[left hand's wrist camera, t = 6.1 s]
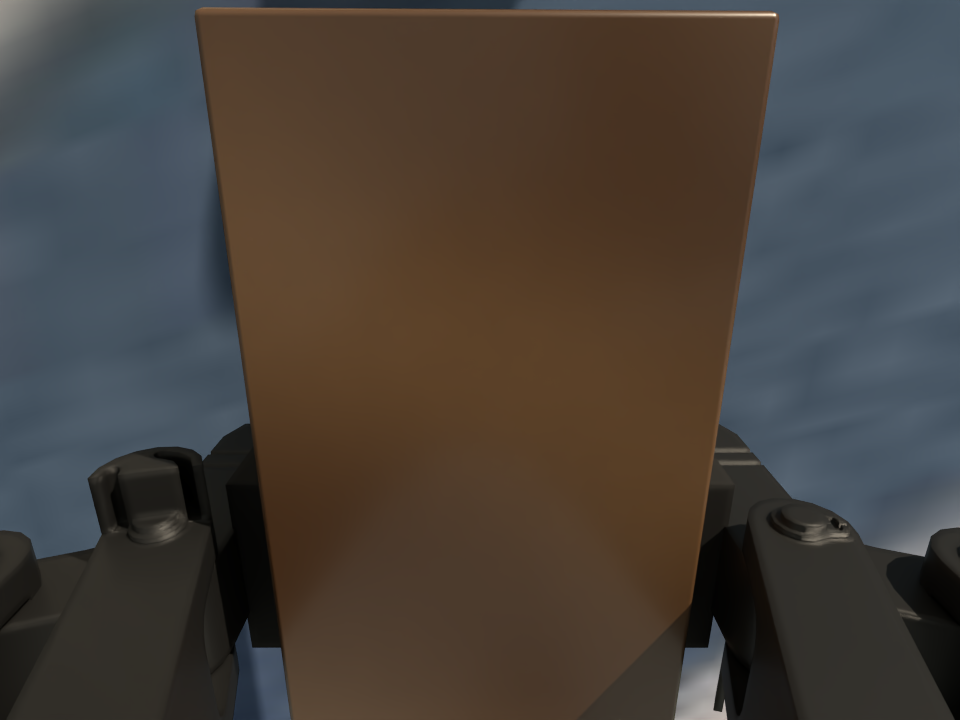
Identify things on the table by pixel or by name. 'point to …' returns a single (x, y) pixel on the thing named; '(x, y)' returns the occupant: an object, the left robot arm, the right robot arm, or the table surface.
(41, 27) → the table surface
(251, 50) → the post
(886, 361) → the table surface
